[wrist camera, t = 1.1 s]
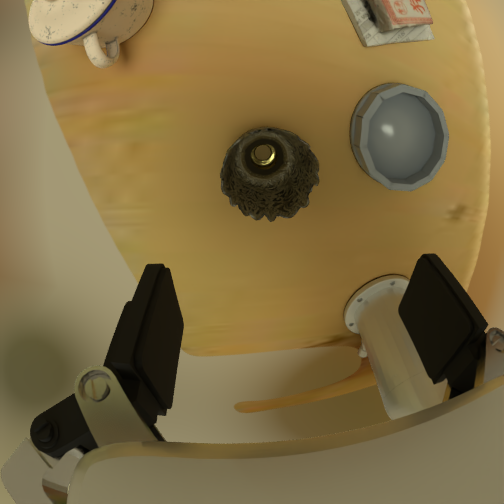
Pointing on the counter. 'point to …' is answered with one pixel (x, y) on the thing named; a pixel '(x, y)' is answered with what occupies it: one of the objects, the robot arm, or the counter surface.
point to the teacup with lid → (89, 24)
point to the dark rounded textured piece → (269, 174)
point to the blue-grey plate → (399, 136)
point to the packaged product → (389, 20)
